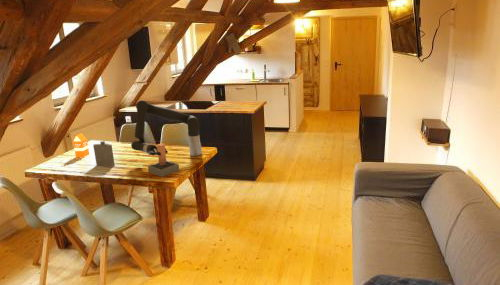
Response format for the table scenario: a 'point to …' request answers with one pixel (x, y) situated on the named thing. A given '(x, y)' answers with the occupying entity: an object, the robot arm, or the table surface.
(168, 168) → the tote
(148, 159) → the table surface
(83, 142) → the orange juice
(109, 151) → the hip flask
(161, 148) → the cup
